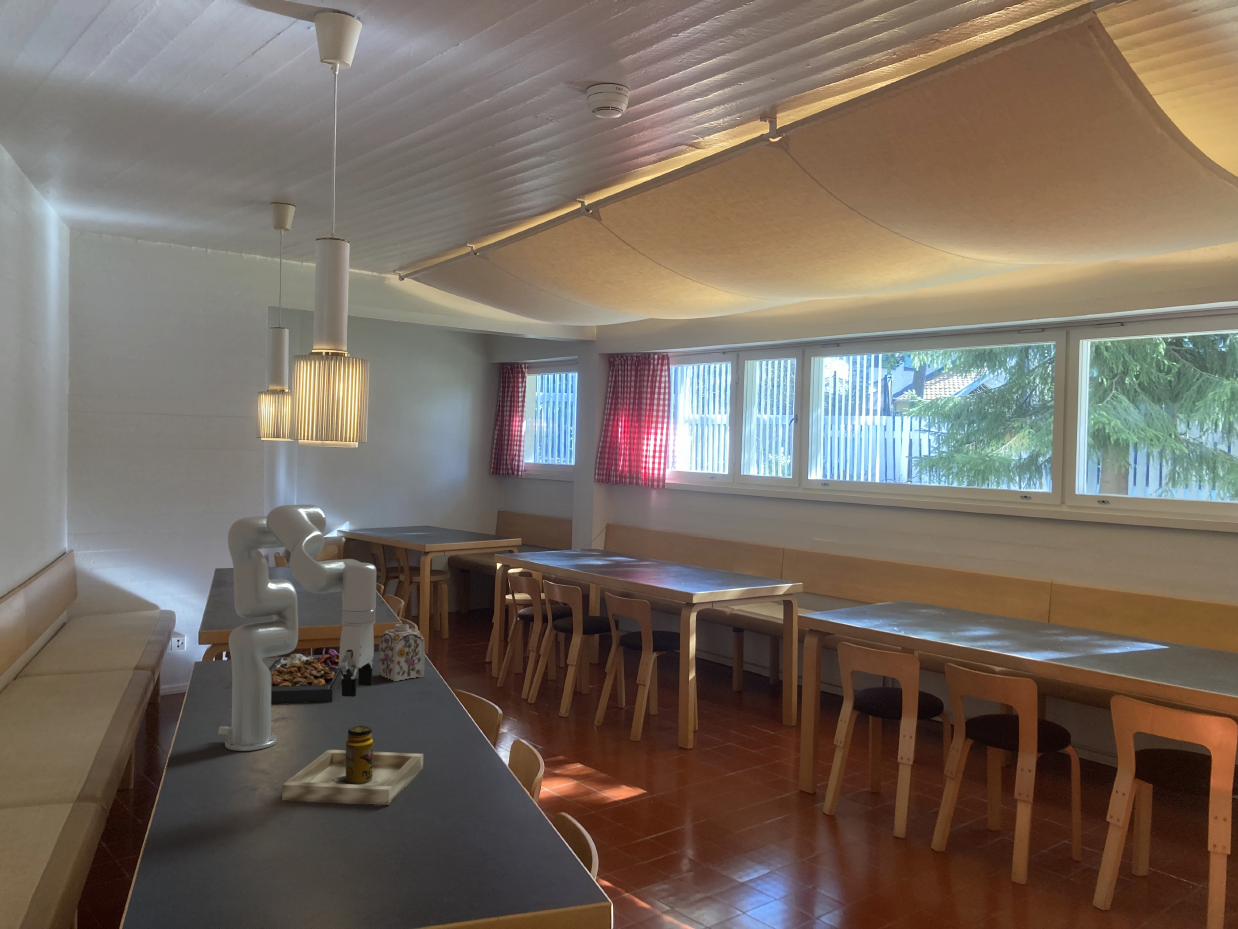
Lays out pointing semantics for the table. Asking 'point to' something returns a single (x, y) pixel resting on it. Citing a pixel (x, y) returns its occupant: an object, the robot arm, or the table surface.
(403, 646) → the decorative jar
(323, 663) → the food platter
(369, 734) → the condiment
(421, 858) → the table surface
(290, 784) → the tray
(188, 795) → the table surface
